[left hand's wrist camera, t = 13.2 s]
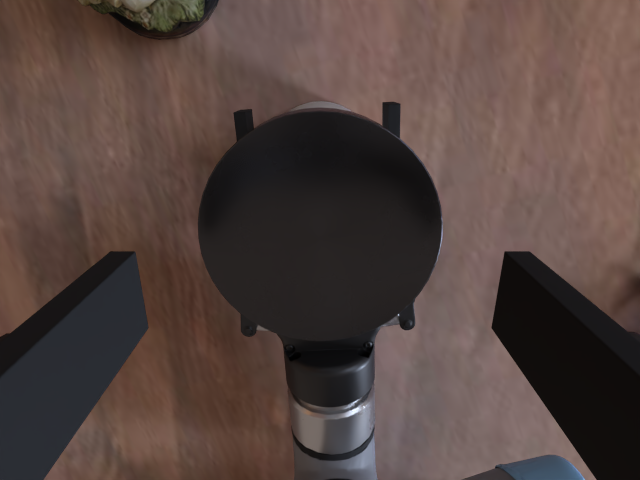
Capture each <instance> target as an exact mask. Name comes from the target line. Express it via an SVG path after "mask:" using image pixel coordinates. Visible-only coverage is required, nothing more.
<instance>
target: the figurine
mask: <svg viewBox="0 0 640 480" xmlns="http://www.w3.org/2000/svg"><path fill="white" fill-rule="evenodd" d="M77 1H78V2H79V3H81V4H82V5H83V6H89V5H90V6H91V7H92V8H93V9H94V10H96V11H98V12H100V13H101V14H107V13H109V14H110V15H111V16H113V17H114V18H115V19H117V20H118V21H119V22H120V23H122V24H123V25H124V26H125V27H127V28H129V29H130V30H132V31H134V32H135V33H137V34H139V35H141V36H145V37H148V38H153V39H170V38H178V37H182V36H185V35H187V34H189V33H191V32H193V31H195V30H196V29H198V28H199V27H200V26H202V25H203V24H204V23H205V22H206V21H207V20H208V19H209V18H210V16H211V14H212V12H213V11H214V9H215V8H216V6H217V3H218V0H77Z"/></svg>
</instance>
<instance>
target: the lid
mask: <svg viewBox="0 0 640 480" xmlns="http://www.w3.org/2000/svg"><path fill="white" fill-rule="evenodd" d="M442 225H443V222H442V212H441V205H440V201H439V197H438V193H437V190H436V188H435V185H434V183H433V181H432V178H431V176H430V174H429V173H428V171H427V169H426V168H425V166H424V164H423V163H422V162H421V160H420V159H419V158H418V157H417V155H416V154H415V153H414V152H413V150H412V149H411V148H409V147H408V146H407V145H406V144H405V143H404V142H403V141H402V140H401V139H400V138H398V137H397V136H396V135H394V134H393V133H392V132H390V131H389V130H387V129H386V128H385V127H383V126H382V125H380V124H379V123H377V122H375V121H373V120H371V119H369V118H367V117H365V116H362V115H359V114H356V113H354V112H351V111H346V110H341V109H336V108H321V107H318V108H305V109H299V110H295V111H290V112H287V113H284V114H281V115H279V116H276V117H273V118H271V119H270V120H268V121H266V122H264V123H262V124H260V125H259V126H257V127H256V128H255V129H253V130H252V131H250V132H249V133H248V134H246V135H245V136H244V137H242V138H241V139H240V140H238V141H237V142H236V143H235V144H234V145H233V146H232V147H231V148H230V149H229V150H228V151H227V152H226V153H225V155H224V156H223V157H222V159H221V160H220V161H219V162H218V164H217V165H216V167H215V169H214V170H213V172H212V174H211V176H210V177H209V179H208V182H207V184H206V187H205V189H204V192H203V195H202V199H201V203H200V208H199V217H198V236H199V243H200V249H201V254H202V257H203V260H204V263H205V266H206V268H207V270H208V272H209V274H210V276H211V279H212V281H213V282H214V284H215V285H216V287H217V288H218V290H219V291H220V293H221V294H222V295H223V296H224V297H225V299H226V300H227V301H228V302H229V303H230V304H231V305H232V306H233V307H234V308H235V309H236V310H237V311H238V312H240V313H241V314H242V315H243V316H245V317H246V318H248V319H249V320H250V321H252V322H254V323H255V324H257V325H259V326H261V327H263V328H264V329H267V330H269V331H272V332H274V333H277V334H279V335H283V336H286V337H290V338H294V339H301V340H307V341H332V340H340V339H346V338H351V337H354V336H358V335H361V334H364V333H366V332H369V331H371V330H374V329H376V328H378V327H380V326H382V325H383V324H385V323H387V322H389V321H390V320H391V319H393V318H394V317H396V316H397V315H398V314H400V313H401V312H402V311H403V310H404V309H405V308H406V307H408V306H409V305H410V304H411V303H412V302H413V300H414V299H415V298H416V297H417V296H418V294H419V293H420V292H421V291H422V289H423V287H424V286H425V284H426V283H427V281H428V280H429V278H430V276H431V273H432V271H433V269H434V267H435V264H436V261H437V258H438V255H439V252H440V246H441V240H442Z"/></svg>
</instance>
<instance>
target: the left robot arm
mask: <svg viewBox="0 0 640 480" xmlns="http://www.w3.org/2000/svg"><path fill="white" fill-rule="evenodd" d="M147 329H148V323H147V317H146V311H145V305H144V299H143V293H142V288H141V282H140V276H139V270H138V264H137V259H136V253H135V252H109V253H108V254H107V255H106V256H104V257H103V258H102V259H101V260H100V261H98V262H97V263H96V264H95V265H93V266H92V267H91V268H90V269H89V270H87V271H86V272H85V273H84V274H82V275H81V276H80V277H79V278H78V279H76V280H75V281H74V282H73V283H71V284H70V285H69V286H68V287H67V288H65V289H64V290H63V291H62V292H60V293H59V294H58V295H57V296H56V297H54V298H53V299H52V300H51V301H49V302H48V303H47V304H46V305H45V306H43V307H42V308H41V309H40V310H38V311H37V312H36V313H35V314H34V315H32V316H31V317H30V318H29V319H27V320H26V321H25V322H24V323H23V324H21V325H20V326H19V327H18V328H16V329H15V330H14V331H13V332H12V333H10V334H5V335H3V336H1V337H0V480H43V479H44V478H45V477H46V475H47V474H48V472H49V471H50V469H51V468H52V466H53V465H54V464H55V462H56V461H57V459H58V458H59V456H60V455H61V453H62V452H63V451H64V449H65V448H66V446H67V445H68V443H69V442H70V440H71V439H72V438H73V436H74V435H75V433H76V432H77V430H78V429H79V427H80V426H81V425H82V423H83V422H84V420H85V419H86V417H87V416H88V414H89V413H90V412H91V410H92V409H93V407H94V406H95V404H96V403H97V401H98V400H99V399H100V397H101V396H102V394H103V393H104V391H105V390H106V388H107V387H108V386H109V384H110V383H111V381H112V380H113V378H114V377H115V375H116V374H117V373H118V371H119V370H120V368H121V367H122V365H123V364H124V362H125V361H126V360H127V358H128V357H129V355H130V354H131V352H132V351H133V349H134V348H135V347H136V345H137V344H138V342H139V341H140V339H141V338H142V336H143V335H144V334H145V332H146V331H147ZM492 329H493V331H494V332H495V334H496V335H497V336H498V338H499V339H500V341H501V342H502V344H503V345H504V347H505V348H506V349H507V351H508V352H509V354H510V355H511V357H512V358H513V360H514V361H515V362H516V364H517V365H518V367H519V368H520V370H521V371H522V373H523V374H524V375H525V377H526V378H527V380H528V381H529V383H530V384H531V386H532V387H533V388H534V390H535V391H536V393H537V394H538V396H539V397H540V399H541V400H542V401H543V403H544V404H545V406H546V407H547V409H548V410H549V412H550V413H551V414H552V416H553V417H554V419H555V420H556V422H557V423H558V425H559V426H560V427H561V429H562V430H563V432H564V433H565V435H566V436H567V438H568V439H569V440H570V442H571V443H572V445H573V446H574V448H575V449H576V451H577V452H578V453H579V455H580V456H581V458H582V459H583V461H584V462H585V464H586V465H587V466H588V468H589V469H590V471H591V472H592V474H593V475H594V477H595V478H596V479H597V480H640V335H638V334H636V333H634V332H627V331H626V330H625V329H624V328H622V327H621V326H620V325H619V324H617V323H616V322H615V321H614V320H613V319H611V318H610V317H609V316H608V315H606V314H605V313H604V312H603V311H602V310H600V309H599V308H598V307H597V306H595V305H594V304H593V303H592V302H591V301H589V300H588V299H587V298H586V297H584V296H583V295H582V294H581V293H580V292H578V291H577V290H576V289H575V288H573V287H572V286H571V285H570V284H569V283H567V282H566V281H565V280H564V279H562V278H561V277H560V276H559V275H558V274H556V273H555V272H554V271H553V270H551V269H550V268H549V267H548V266H547V265H545V264H544V263H543V262H542V261H540V260H539V259H538V258H537V257H536V256H534V255H533V254H532V253H531V252H505V253H504V259H503V264H502V270H501V276H500V282H499V288H498V293H497V299H496V305H495V311H494V317H493V323H492Z"/></svg>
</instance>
